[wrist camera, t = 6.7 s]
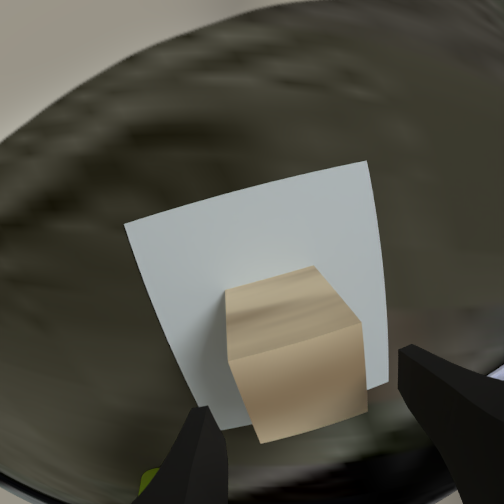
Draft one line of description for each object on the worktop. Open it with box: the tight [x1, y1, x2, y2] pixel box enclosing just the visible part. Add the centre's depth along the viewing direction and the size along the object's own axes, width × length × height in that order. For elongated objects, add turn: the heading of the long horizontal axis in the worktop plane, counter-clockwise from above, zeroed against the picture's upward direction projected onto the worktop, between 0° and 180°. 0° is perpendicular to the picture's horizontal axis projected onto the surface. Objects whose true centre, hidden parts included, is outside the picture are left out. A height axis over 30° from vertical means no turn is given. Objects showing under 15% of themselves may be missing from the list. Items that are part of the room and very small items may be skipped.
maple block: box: [225, 265, 368, 443], centre depth 13 cm, size 4×4×6 cm
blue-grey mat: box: [124, 161, 388, 430], centre depth 16 cm, size 14×12×1 cm
